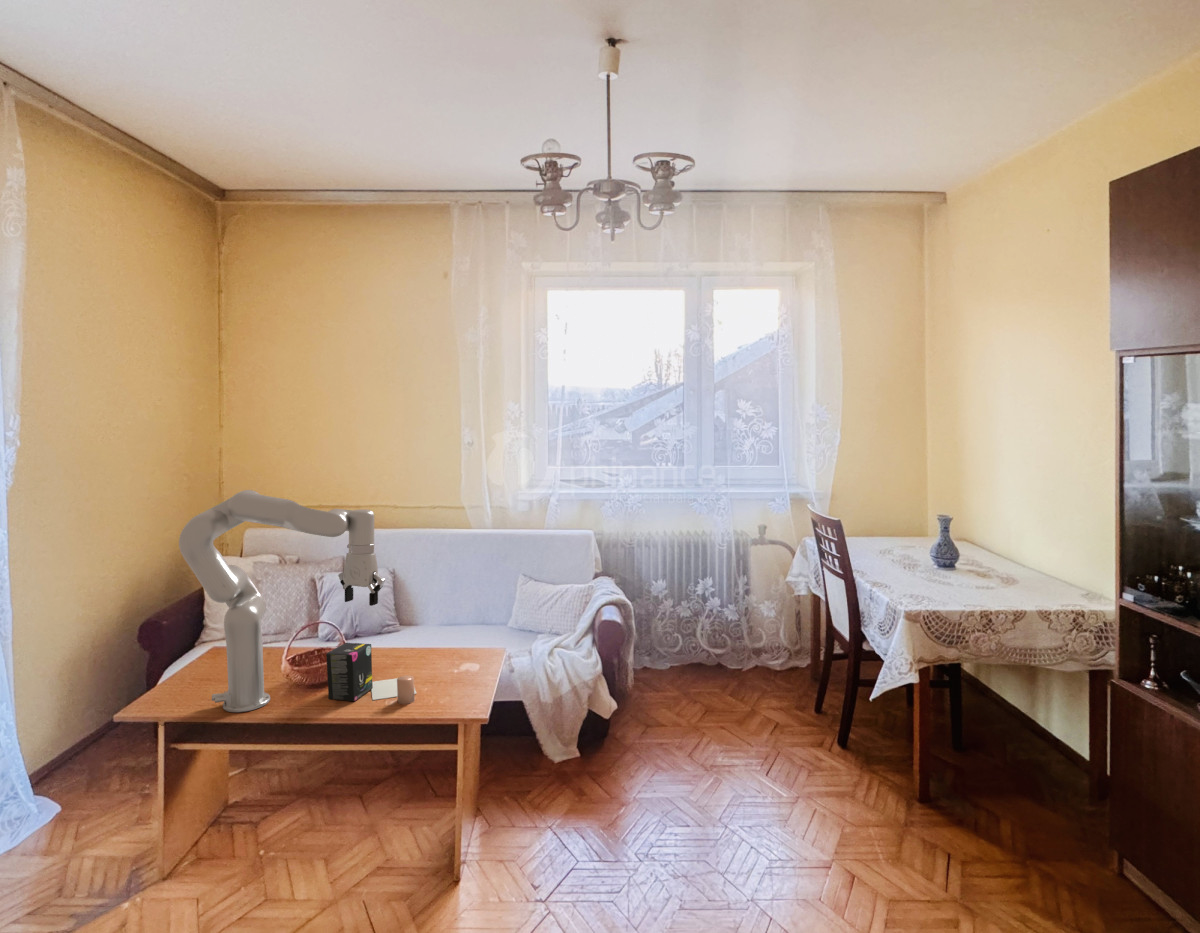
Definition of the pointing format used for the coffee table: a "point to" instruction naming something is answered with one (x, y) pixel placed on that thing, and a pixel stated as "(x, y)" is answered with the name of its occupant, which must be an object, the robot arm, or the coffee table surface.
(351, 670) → the tampon box
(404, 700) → the peg
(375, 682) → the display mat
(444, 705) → the coffee table surface
